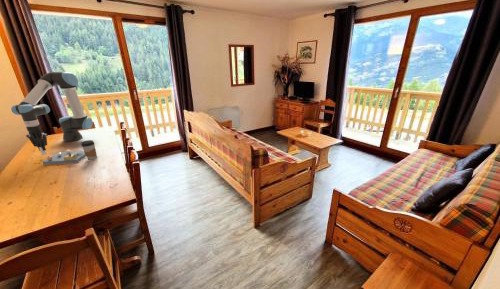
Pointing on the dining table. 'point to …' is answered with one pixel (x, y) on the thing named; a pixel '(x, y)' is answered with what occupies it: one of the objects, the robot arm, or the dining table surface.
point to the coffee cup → (89, 150)
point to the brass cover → (70, 157)
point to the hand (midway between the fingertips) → (44, 154)
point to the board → (61, 160)
